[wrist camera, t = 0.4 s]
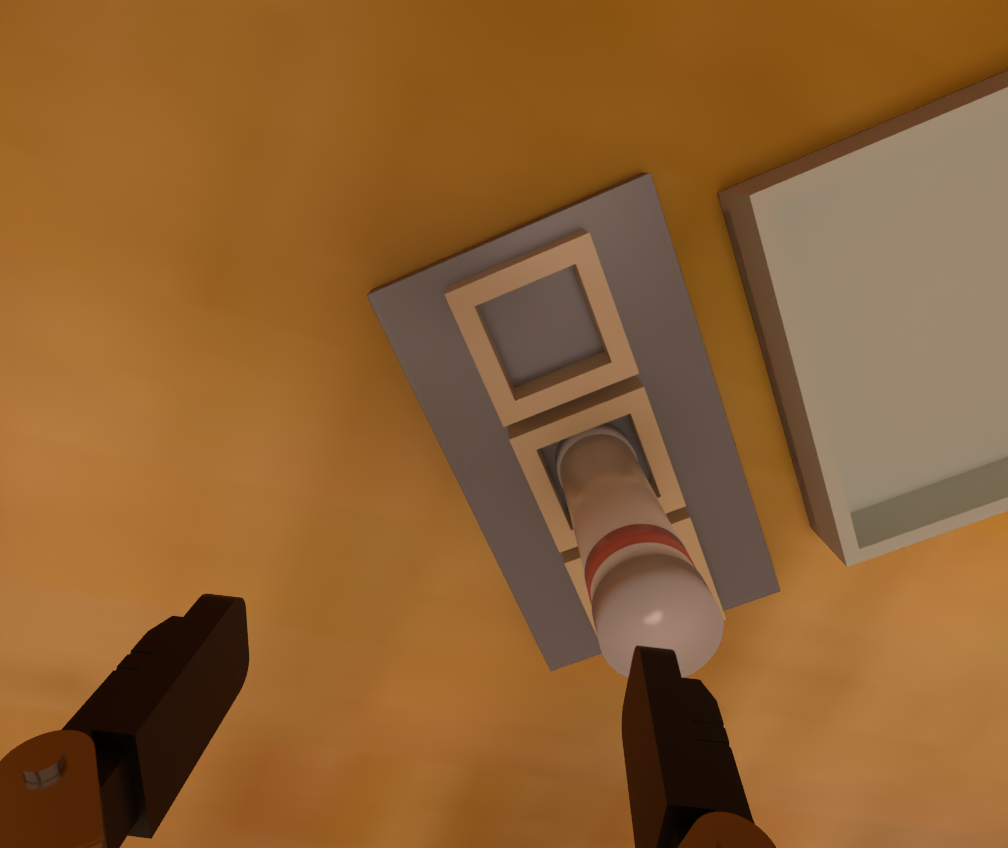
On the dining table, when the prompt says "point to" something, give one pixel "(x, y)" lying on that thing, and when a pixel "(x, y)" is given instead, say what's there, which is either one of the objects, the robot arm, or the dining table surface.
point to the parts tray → (888, 319)
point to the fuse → (633, 556)
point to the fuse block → (575, 397)
